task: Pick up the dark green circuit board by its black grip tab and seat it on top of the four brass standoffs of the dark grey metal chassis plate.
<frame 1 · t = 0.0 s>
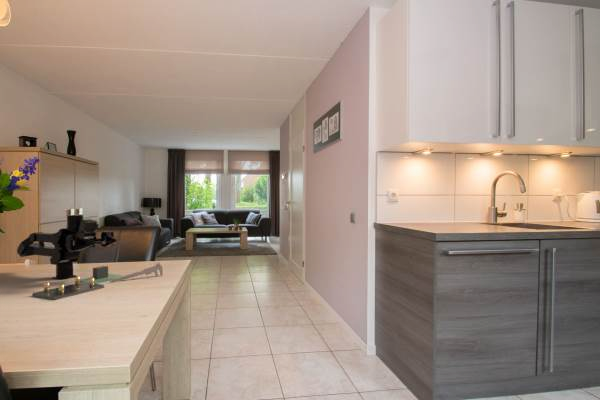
hand: (105, 241, 139), 17 cm above the table, tool horizontal, fingers open, 9 cm apart
board: (100, 280, 146), on the table
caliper: (137, 279, 148), on the table
chassis: (69, 291, 127), on the table
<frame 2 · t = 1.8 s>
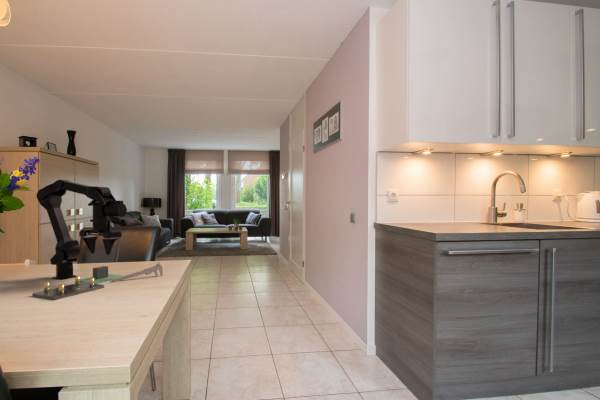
hand: (100, 254, 146), 10 cm above the table, tool pointing down, fingers open, 9 cm apart
nothing on the table moved.
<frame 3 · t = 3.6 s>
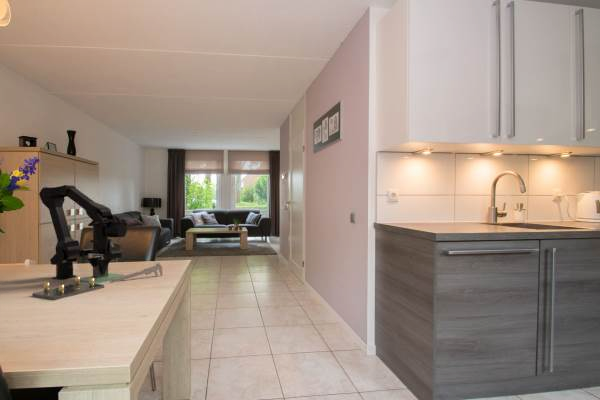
hand: (100, 274, 146), 2 cm above the table, tool pointing down, fingers closed on board, 3 cm apart
board: (100, 279, 146), on the table, touching gripper
everything else where it was.
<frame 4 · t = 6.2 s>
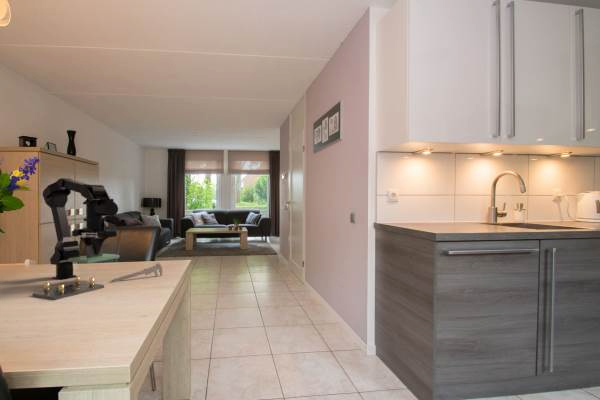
hand: (94, 254, 142), 11 cm above the table, tool pointing down, fingers closed on board, 3 cm apart
board: (94, 259, 142), point 9 cm above the table, touching gripper
everything else where it was.
when the fingers open (7 cm above the table, at t = 8.5 s): board drops 1 cm, resting on chassis.
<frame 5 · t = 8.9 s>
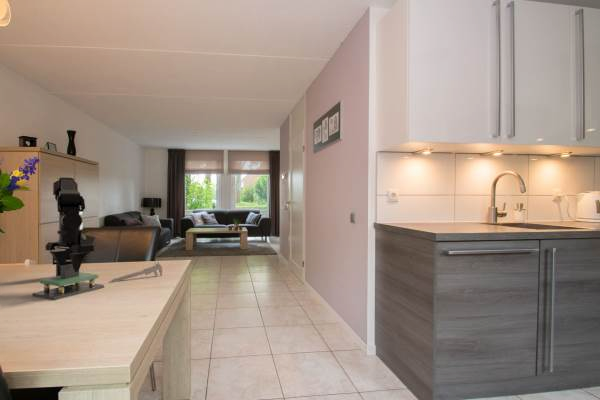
hand: (69, 270, 127), 7 cm above the table, tool pointing down, fingers open, 7 cm apart
board: (70, 280, 127), point 4 cm above the table, touching chassis
everything else where it was.
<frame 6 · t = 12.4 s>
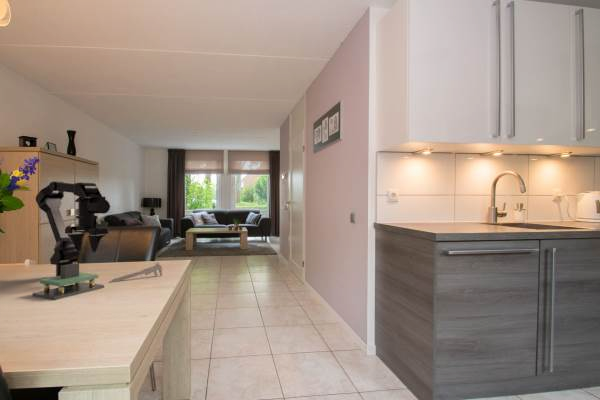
hand: (86, 251, 144), 12 cm above the table, tool pointing down, fingers open, 9 cm apart
nothing on the table moved.
at the end: board 0.1 cm off-centre on the chassis, point 4.0 cm above the chassis's base; board tilted 0°; the gripper is holding nothing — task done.
